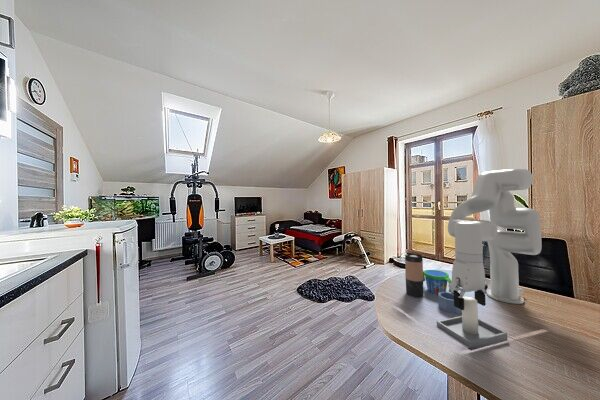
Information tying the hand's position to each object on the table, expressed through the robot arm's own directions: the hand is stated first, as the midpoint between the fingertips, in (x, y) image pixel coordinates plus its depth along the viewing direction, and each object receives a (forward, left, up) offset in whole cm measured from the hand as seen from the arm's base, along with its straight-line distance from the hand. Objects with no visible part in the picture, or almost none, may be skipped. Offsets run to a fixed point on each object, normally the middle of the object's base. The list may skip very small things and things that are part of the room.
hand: (469, 305), depth 73 cm
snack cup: (-17, -28, -10) cm, 34 cm away
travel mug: (-4, -29, -10) cm, 31 cm away
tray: (0, 0, -10) cm, 10 cm away
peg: (0, 0, -9) cm, 9 cm away
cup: (-8, -14, -10) cm, 19 cm away
